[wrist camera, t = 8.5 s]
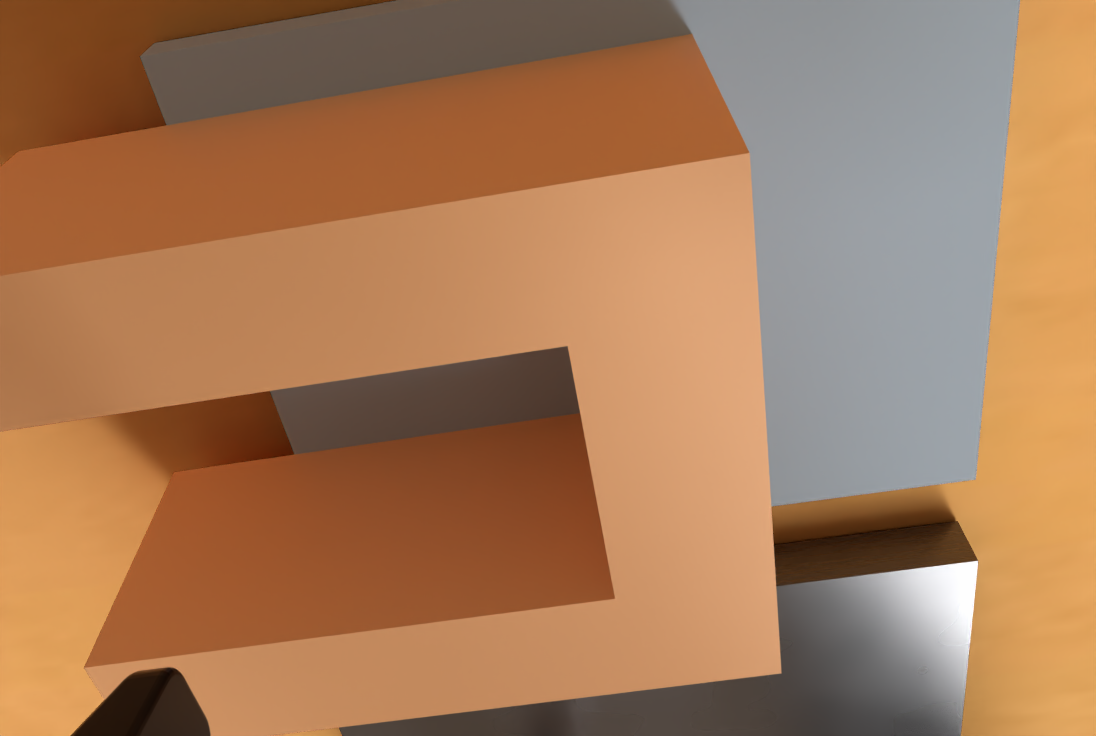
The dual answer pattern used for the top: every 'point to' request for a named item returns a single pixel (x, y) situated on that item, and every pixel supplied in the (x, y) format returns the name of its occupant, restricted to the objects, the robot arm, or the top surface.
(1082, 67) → the top surface
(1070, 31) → the top surface
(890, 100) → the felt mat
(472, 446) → the c link
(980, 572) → the top surface
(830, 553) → the peg stand
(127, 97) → the top surface
